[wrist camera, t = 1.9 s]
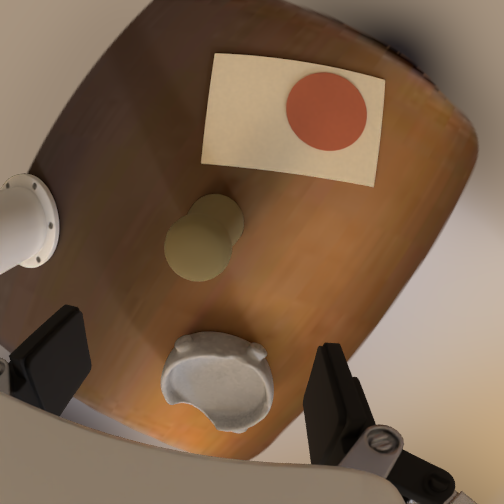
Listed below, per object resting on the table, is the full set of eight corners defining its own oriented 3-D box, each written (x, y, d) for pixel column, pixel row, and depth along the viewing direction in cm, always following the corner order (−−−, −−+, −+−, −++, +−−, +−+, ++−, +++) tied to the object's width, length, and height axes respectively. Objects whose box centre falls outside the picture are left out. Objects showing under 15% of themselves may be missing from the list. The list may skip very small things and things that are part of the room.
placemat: (201, 163, 30) (200, 163, 30) (215, 54, 27) (214, 52, 26) (372, 186, 31) (374, 187, 30) (384, 80, 27) (385, 79, 26)
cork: (201, 183, 31) (172, 197, 21) (254, 210, 32) (250, 236, 21) (178, 234, 33) (142, 270, 22) (228, 259, 33) (213, 306, 23)
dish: (254, 416, 40) (253, 441, 36) (161, 390, 40) (152, 414, 35) (292, 341, 36) (296, 366, 31) (180, 307, 35) (169, 329, 31)
